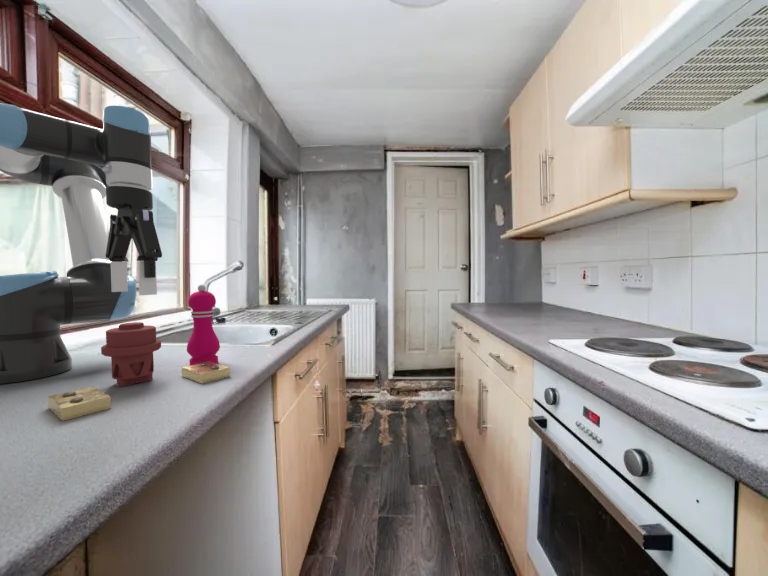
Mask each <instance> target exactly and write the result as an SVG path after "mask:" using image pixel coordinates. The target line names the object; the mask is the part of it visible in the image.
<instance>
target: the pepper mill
mask: <svg viewBox="0 0 768 576" xmlns="http://www.w3.org/2000/svg"><path fill="white" fill-rule="evenodd" d="M206 288H207V287H206V286H205V285H204V284H199V285H198V286H197V290H198V291H195V292H192V293H191V294H190V295H189V297H188V300H187V303H188V307H190V309H191V310H192V311H190V314H191V316H190V317H191V318H192V319H193V320H192V321H193V328H192V332H191V335H190V337H189V339H188V341H187V345H186V352H187V354H188V355H190V357H191V358H190V359H189V360H188V361H189V366H190V365H195V364H199V363H204V362H213V363H216V364H217V363H218V364H219V357H218V355H217V353H219V351H220V347H221V345H220V341H219V338H218V335H216V332H215V331H214V328H213V322H212V321H213V317H214V315H215V313H214V312H215V310H213V308H214V307H215V306H216V304H217V300H216V297H215V295H214V294H213V293H212V292H211V291H207V289H206Z"/></svg>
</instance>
